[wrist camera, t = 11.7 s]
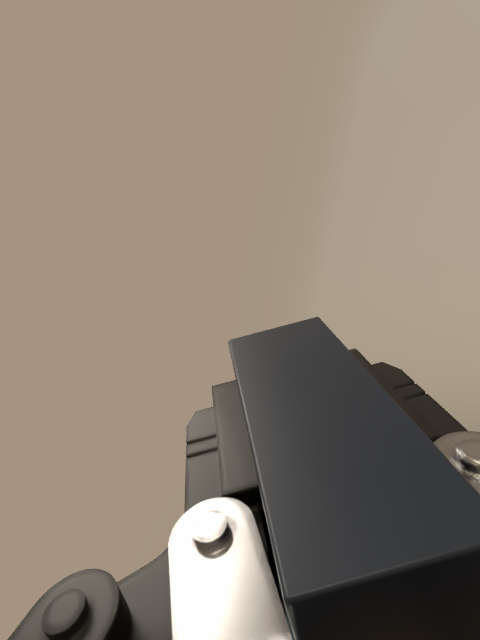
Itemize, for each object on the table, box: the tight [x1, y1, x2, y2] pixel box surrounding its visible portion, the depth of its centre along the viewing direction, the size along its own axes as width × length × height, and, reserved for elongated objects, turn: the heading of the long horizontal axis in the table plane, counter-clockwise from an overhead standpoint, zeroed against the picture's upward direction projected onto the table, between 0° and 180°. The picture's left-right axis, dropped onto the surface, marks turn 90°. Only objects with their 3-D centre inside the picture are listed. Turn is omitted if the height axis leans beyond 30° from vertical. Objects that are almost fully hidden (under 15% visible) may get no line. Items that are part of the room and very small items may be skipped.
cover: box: [228, 317, 480, 640], centre depth 8 cm, size 10×9×10 cm
